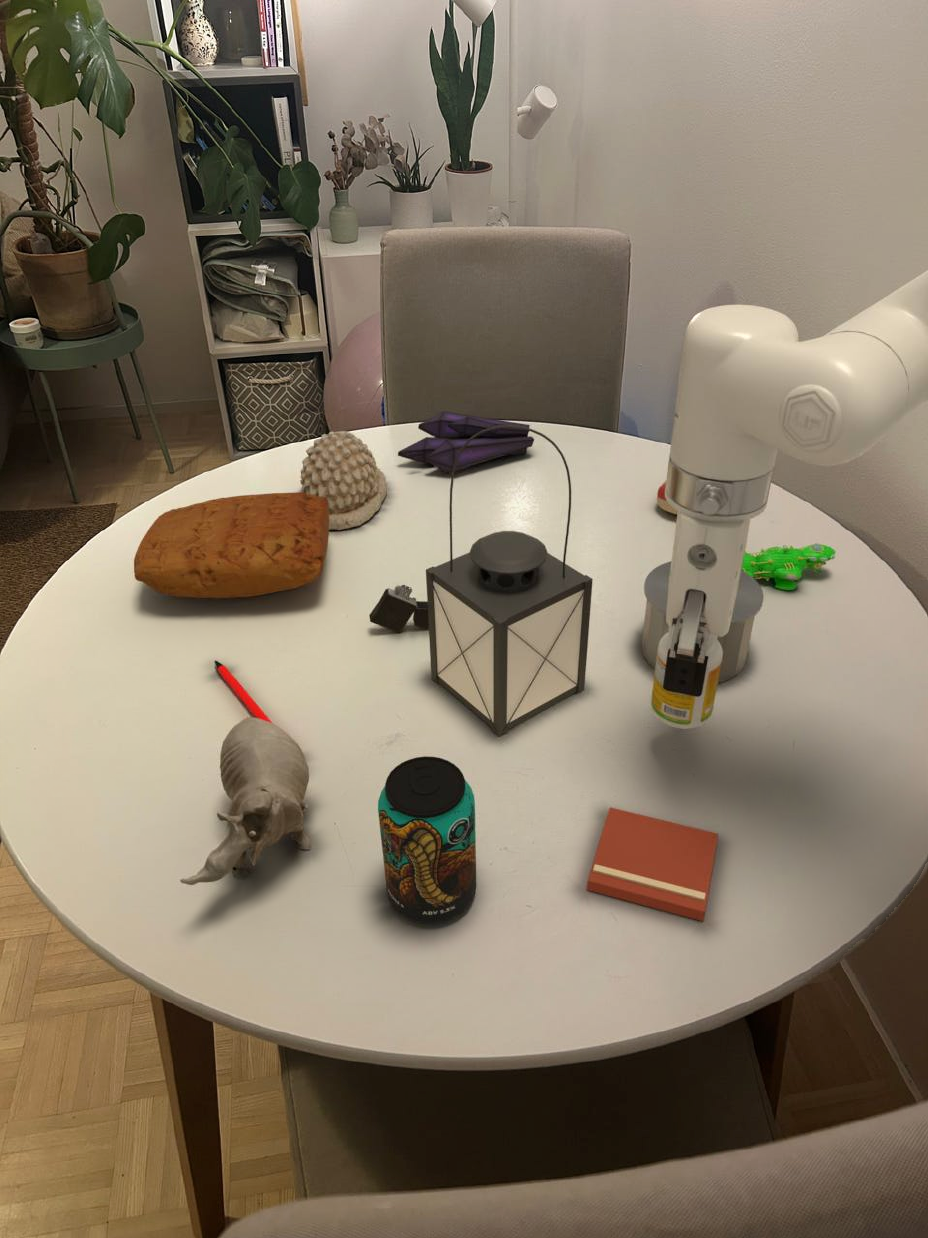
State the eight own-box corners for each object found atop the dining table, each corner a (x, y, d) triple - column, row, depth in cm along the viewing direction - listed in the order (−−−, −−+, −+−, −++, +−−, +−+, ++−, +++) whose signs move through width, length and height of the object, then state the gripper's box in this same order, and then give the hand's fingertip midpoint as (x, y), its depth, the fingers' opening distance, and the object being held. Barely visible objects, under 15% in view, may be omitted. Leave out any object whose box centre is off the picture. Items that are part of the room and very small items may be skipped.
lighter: (431, 635, 103) (454, 601, 101) (433, 646, 101) (457, 612, 99) (368, 611, 100) (391, 575, 97) (370, 622, 98) (393, 585, 96)
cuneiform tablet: (343, 539, 116) (336, 482, 111) (324, 618, 102) (316, 557, 97) (170, 541, 116) (157, 484, 112) (129, 619, 103) (111, 559, 98)
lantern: (585, 690, 91) (606, 428, 75) (499, 738, 86) (501, 467, 69) (513, 637, 99) (518, 389, 82) (429, 679, 93) (416, 421, 77)
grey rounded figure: (333, 730, 83) (285, 691, 69) (333, 886, 79) (282, 879, 65) (250, 735, 84) (186, 698, 70) (246, 890, 80) (176, 884, 66)
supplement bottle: (695, 686, 84) (710, 599, 78) (722, 724, 80) (740, 635, 74) (640, 696, 83) (651, 608, 77) (665, 735, 79) (678, 646, 73)
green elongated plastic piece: (842, 587, 105) (851, 555, 102) (692, 604, 103) (697, 572, 100) (816, 557, 110) (823, 526, 108) (672, 572, 108) (676, 541, 106)
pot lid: (766, 577, 94) (774, 539, 92) (755, 642, 86) (764, 602, 83) (654, 559, 98) (658, 522, 95) (633, 620, 89) (637, 580, 86)
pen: (297, 770, 83) (295, 761, 82) (211, 665, 95) (209, 657, 95) (306, 766, 83) (304, 757, 82) (219, 662, 96) (217, 654, 95)
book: (716, 843, 75) (719, 831, 74) (703, 921, 69) (705, 909, 68) (608, 816, 78) (610, 804, 77) (586, 890, 72) (587, 878, 71)
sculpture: (395, 473, 130) (390, 406, 125) (373, 533, 117) (367, 462, 111) (313, 470, 132) (305, 404, 126) (282, 529, 118) (271, 459, 112)
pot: (750, 633, 98) (762, 574, 94) (739, 694, 90) (752, 633, 86) (651, 615, 101) (658, 557, 97) (633, 672, 93) (639, 613, 89)
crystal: (527, 398, 135) (393, 400, 132) (546, 438, 127) (404, 441, 123) (521, 440, 140) (391, 443, 136) (539, 481, 132) (402, 486, 128)
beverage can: (391, 935, 69) (379, 828, 62) (383, 862, 74) (372, 756, 67) (483, 922, 70) (482, 814, 62) (468, 850, 75) (466, 744, 68)
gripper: (759, 546, 60) (719, 745, 71) (778, 439, 73) (742, 621, 84) (646, 528, 63) (624, 724, 73) (684, 428, 76) (661, 607, 86)
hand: (687, 667), depth 79 cm, fingers closed on supplement bottle, 5 cm apart
